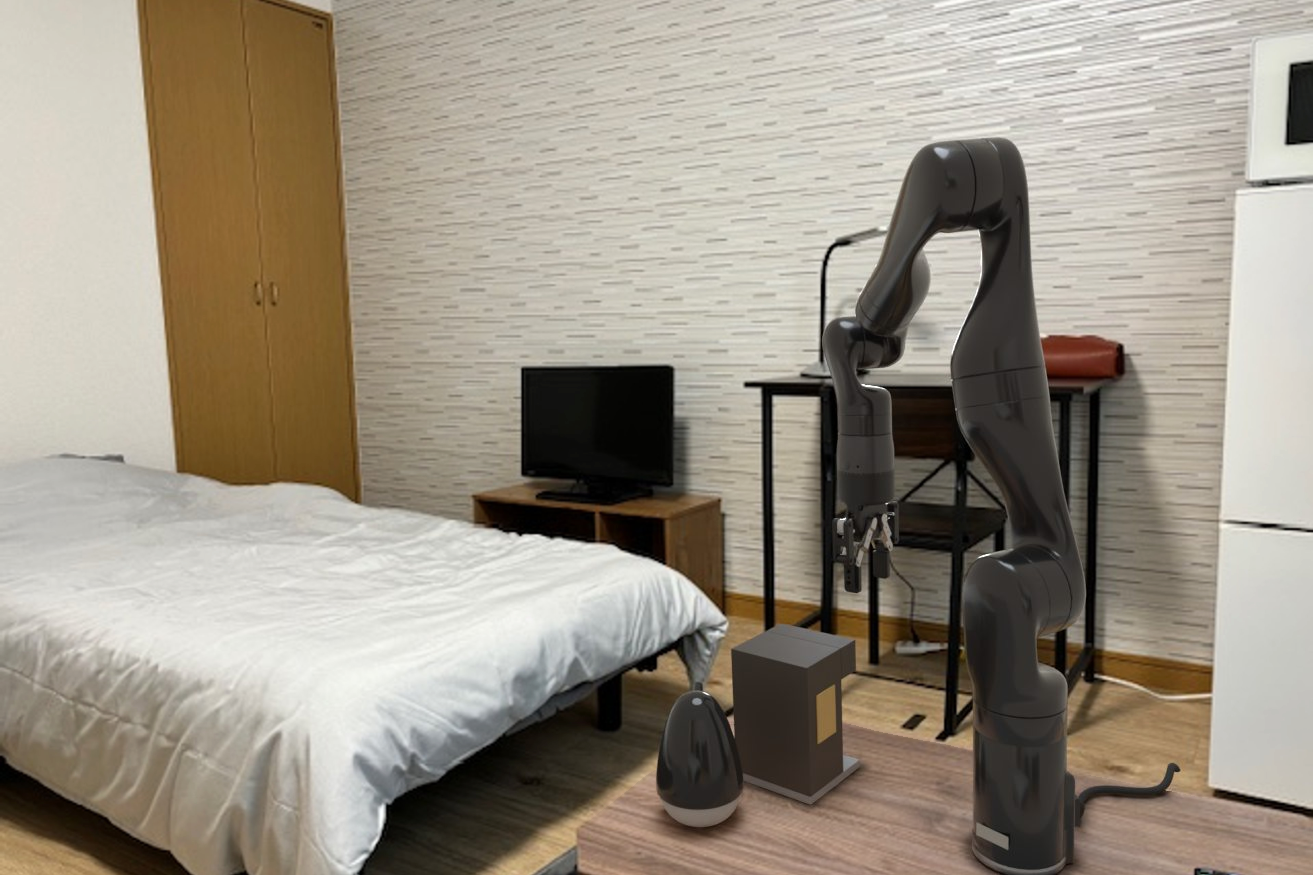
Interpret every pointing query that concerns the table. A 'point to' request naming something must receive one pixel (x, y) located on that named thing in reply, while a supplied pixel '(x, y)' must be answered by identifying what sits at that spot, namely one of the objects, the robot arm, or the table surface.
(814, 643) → the box
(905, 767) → the table surface
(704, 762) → the pump dispenser
